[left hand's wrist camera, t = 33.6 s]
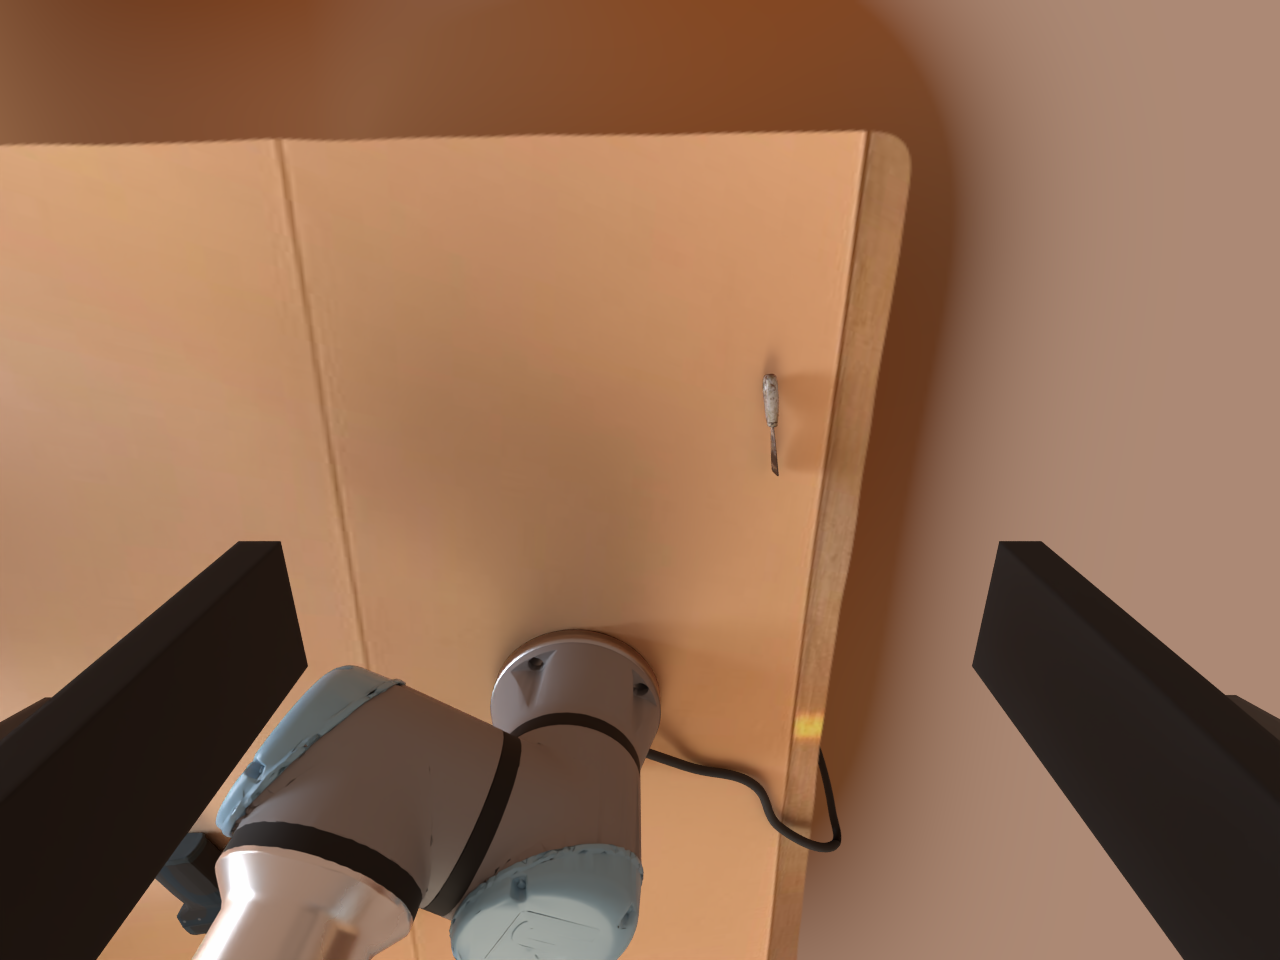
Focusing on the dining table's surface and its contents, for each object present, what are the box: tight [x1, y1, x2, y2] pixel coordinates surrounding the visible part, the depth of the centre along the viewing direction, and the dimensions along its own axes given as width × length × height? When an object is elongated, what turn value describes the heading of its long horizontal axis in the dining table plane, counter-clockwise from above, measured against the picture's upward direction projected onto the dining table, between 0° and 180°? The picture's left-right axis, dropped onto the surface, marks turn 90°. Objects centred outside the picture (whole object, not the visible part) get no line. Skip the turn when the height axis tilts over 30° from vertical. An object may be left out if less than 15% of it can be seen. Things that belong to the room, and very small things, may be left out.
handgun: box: [155, 833, 222, 935], centre depth 70 cm, size 3×17×12 cm
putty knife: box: [763, 374, 779, 476], centre depth 52 cm, size 1×8×2 cm, turn 8°
